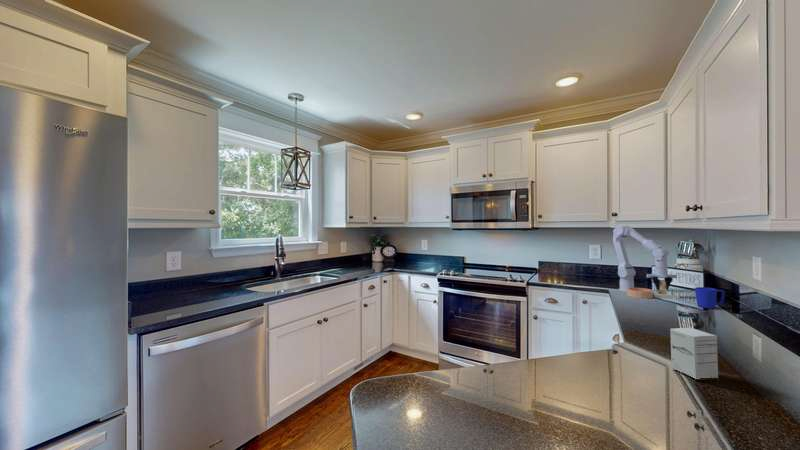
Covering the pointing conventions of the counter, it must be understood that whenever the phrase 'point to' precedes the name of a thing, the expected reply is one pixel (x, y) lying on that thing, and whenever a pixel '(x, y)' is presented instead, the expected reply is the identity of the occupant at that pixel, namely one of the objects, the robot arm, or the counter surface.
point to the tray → (665, 295)
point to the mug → (708, 297)
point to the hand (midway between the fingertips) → (662, 289)
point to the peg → (662, 287)
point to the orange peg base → (640, 292)
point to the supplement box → (694, 352)
